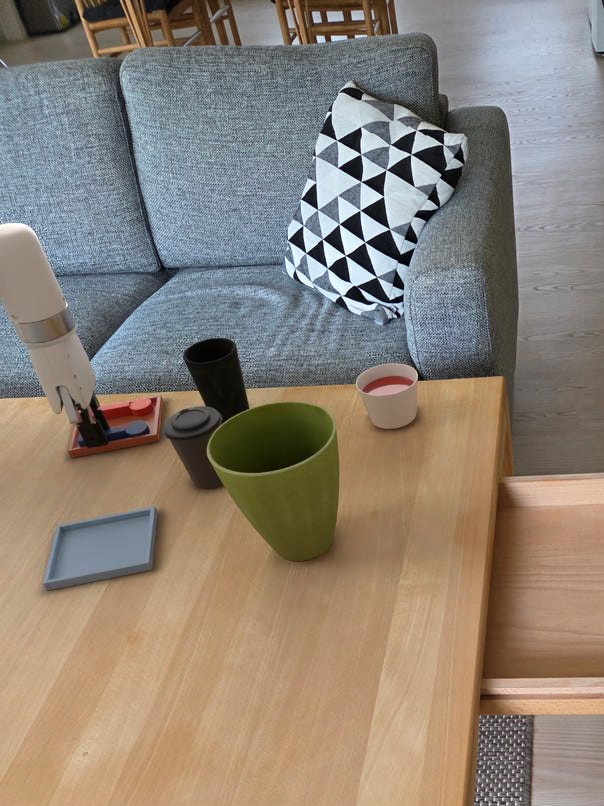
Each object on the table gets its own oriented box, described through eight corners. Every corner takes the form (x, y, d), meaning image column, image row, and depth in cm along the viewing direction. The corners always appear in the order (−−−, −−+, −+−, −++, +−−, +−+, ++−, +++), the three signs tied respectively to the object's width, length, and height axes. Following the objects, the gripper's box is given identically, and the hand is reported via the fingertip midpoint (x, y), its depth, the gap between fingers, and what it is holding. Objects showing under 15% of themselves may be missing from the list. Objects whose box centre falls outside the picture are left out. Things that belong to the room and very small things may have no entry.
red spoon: (86, 426, 136) (82, 417, 135) (89, 415, 138) (85, 406, 137) (152, 414, 137) (149, 405, 135) (154, 403, 139) (150, 394, 138)
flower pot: (329, 592, 104) (296, 482, 92) (223, 572, 108) (180, 464, 97) (381, 516, 113) (357, 408, 102) (282, 500, 118) (249, 395, 106)
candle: (363, 406, 133) (355, 368, 128) (421, 397, 133) (415, 359, 129) (364, 438, 127) (356, 399, 122) (425, 429, 127) (419, 390, 122)
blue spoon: (82, 454, 130) (77, 445, 129) (81, 441, 132) (76, 432, 131) (151, 437, 132) (147, 428, 130) (149, 424, 134) (145, 416, 133)
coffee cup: (207, 457, 127) (184, 396, 120) (252, 467, 124) (231, 405, 117) (172, 489, 122) (146, 427, 115) (218, 500, 119) (194, 437, 112)
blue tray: (46, 590, 109) (42, 583, 108) (60, 532, 117) (56, 525, 117) (152, 569, 110) (148, 562, 109) (158, 513, 118) (154, 506, 118)
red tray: (70, 457, 130) (67, 451, 130) (80, 416, 139) (77, 409, 138) (159, 441, 131) (156, 434, 131) (163, 401, 140) (160, 394, 139)
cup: (269, 416, 133) (247, 343, 125) (234, 442, 129) (209, 368, 121) (233, 405, 137) (209, 333, 128) (198, 430, 133) (171, 357, 124)
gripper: (28, 303, 123) (82, 417, 136) (4, 356, 112) (66, 474, 125) (81, 294, 124) (130, 408, 137) (63, 346, 112) (118, 465, 125)
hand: (99, 439), depth 131 cm, fingers closed
